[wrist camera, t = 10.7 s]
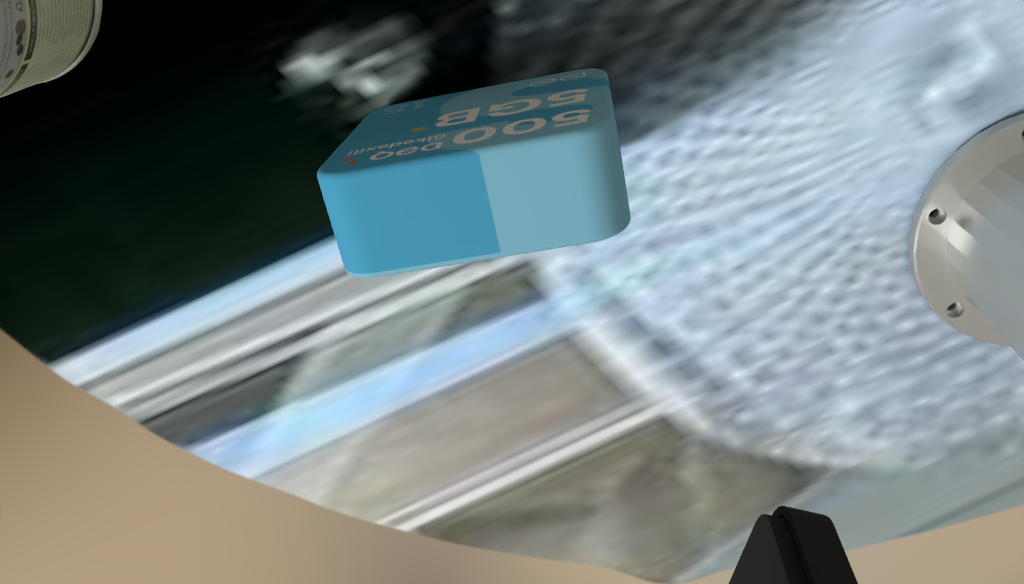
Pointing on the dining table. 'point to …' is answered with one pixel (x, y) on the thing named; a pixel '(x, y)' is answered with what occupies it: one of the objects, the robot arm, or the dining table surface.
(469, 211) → the data package
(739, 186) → the dining table surface
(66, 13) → the coffee can
